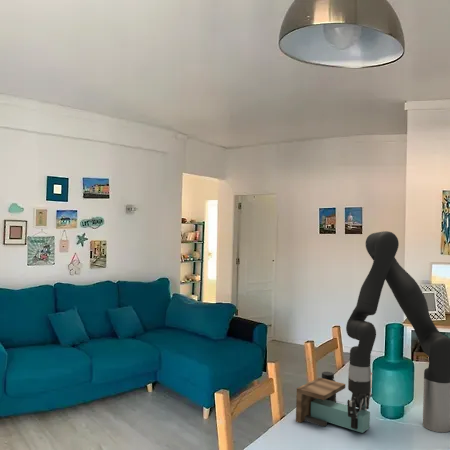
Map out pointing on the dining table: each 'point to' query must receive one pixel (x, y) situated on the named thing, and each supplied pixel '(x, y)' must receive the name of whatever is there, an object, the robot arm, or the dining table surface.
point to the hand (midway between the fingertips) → (358, 425)
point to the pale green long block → (338, 414)
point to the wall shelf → (311, 392)
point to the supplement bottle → (331, 377)
